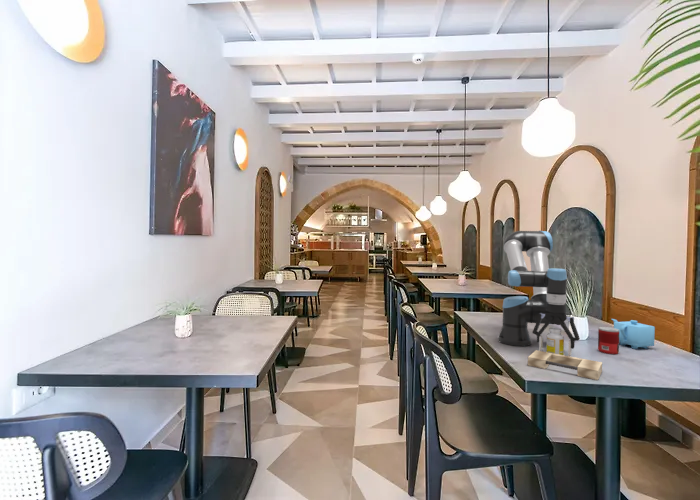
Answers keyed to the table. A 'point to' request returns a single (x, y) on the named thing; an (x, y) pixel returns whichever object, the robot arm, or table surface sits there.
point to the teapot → (635, 334)
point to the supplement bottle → (555, 341)
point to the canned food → (608, 340)
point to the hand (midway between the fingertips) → (554, 352)
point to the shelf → (566, 363)
